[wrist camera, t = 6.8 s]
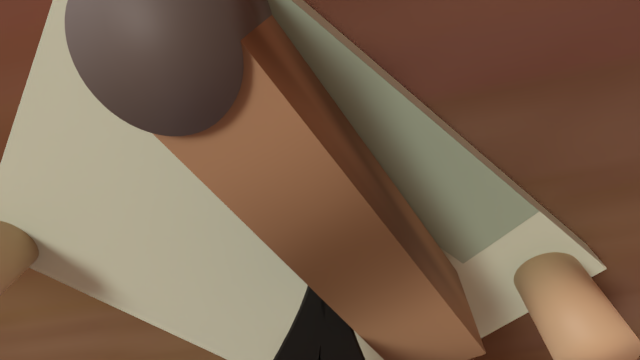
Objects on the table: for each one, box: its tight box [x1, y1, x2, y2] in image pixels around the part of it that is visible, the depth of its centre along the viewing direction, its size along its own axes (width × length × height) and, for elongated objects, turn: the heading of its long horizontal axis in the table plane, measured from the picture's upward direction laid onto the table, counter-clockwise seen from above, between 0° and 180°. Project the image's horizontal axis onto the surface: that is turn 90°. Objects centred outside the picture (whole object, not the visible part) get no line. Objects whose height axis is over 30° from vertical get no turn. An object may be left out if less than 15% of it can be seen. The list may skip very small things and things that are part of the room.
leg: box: [65, 0, 486, 360], centre depth 9 cm, size 12×3×3 cm, turn 36°
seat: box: [0, 0, 640, 360], centre depth 12 cm, size 14×18×4 cm
